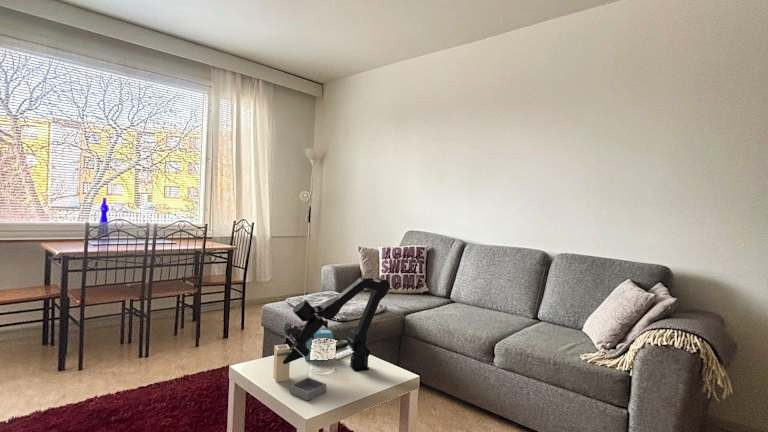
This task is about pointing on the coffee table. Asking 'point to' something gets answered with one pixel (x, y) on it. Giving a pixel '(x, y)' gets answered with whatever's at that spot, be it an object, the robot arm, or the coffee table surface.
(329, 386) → the coffee table surface
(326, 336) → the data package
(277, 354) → the kraft box
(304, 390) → the tray
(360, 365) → the robot arm
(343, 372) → the coffee table surface
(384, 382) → the coffee table surface
